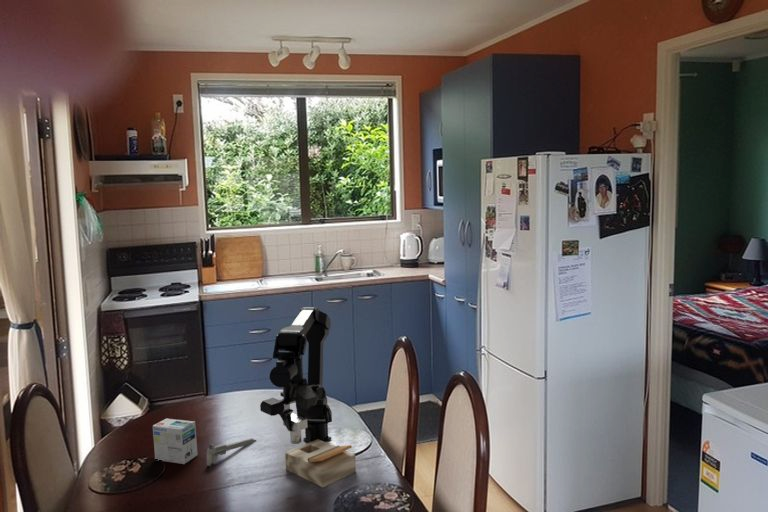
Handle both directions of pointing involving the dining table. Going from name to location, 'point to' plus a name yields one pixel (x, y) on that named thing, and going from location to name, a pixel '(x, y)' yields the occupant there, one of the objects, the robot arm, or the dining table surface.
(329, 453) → the tan wooden plank
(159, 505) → the dining table surface
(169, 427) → the light bulb box
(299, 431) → the steel pin
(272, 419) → the dining table surface
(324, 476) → the hitch block
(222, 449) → the caliper
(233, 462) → the dining table surface
